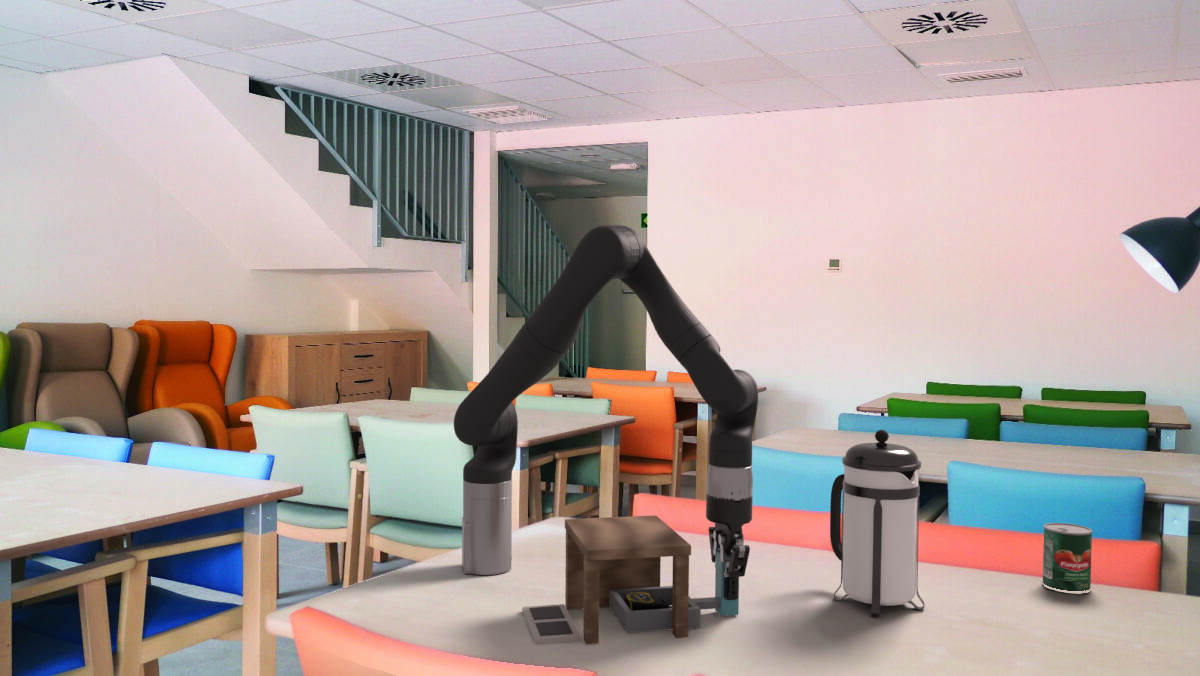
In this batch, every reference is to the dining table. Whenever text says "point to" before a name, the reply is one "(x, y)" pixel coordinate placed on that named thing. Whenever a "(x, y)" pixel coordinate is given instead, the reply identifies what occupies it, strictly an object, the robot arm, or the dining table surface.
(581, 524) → the small wooden table
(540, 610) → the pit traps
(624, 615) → the slider
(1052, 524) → the canned tomato
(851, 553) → the coffee press
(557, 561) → the dining table surface
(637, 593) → the tape measure
